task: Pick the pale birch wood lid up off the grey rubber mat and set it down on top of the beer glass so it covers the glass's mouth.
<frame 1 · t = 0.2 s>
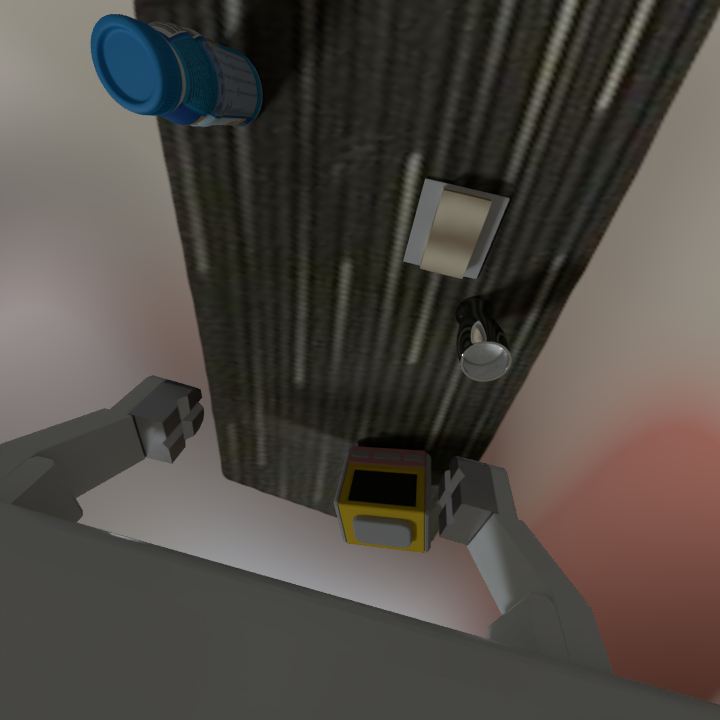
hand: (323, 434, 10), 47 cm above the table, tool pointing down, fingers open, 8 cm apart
birch lid: (452, 232, 50), point 1 cm above the table, touching grey mat
beverage bottle: (236, 89, 45), on the table
beer glass: (473, 312, 57), on the table
grey mat: (452, 231, 50), on the table
alarm clock: (390, 462, 83), on the table
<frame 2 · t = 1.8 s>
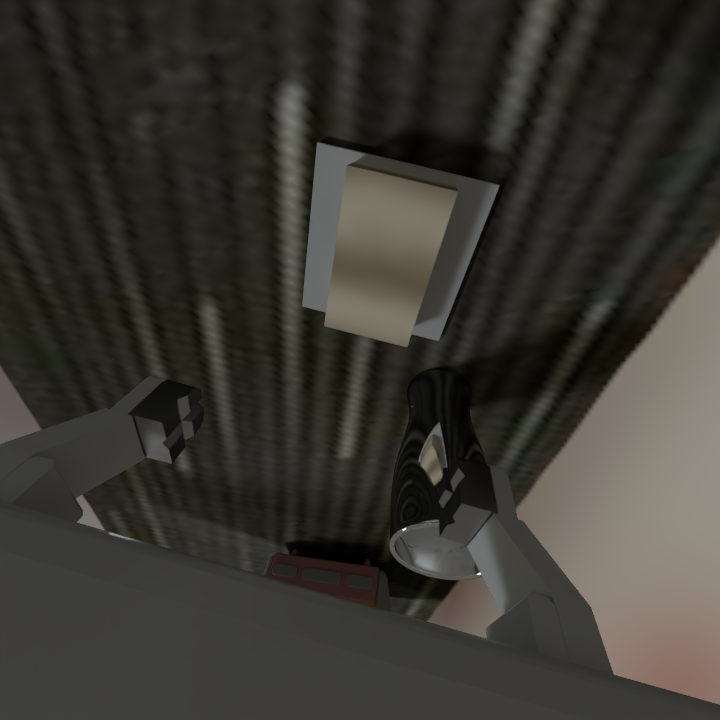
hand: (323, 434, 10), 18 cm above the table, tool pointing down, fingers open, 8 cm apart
birch lid: (386, 255, 25), point 1 cm above the table, touching grey mat
beer glass: (438, 392, 32), on the table
grey mat: (386, 252, 25), on the table
alarm clock: (335, 568, 58), on the table
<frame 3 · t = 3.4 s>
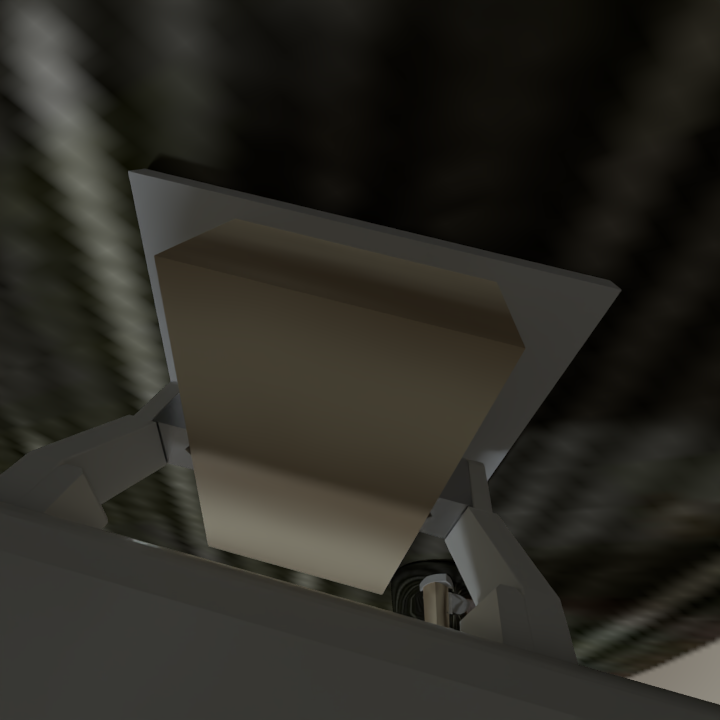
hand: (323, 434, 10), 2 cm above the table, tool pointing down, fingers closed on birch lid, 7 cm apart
birch lid: (333, 408, 11), point 1 cm above the table, touching grey mat, gripper
beer glass: (445, 584, 19), on the table
grey mat: (337, 396, 12), on the table
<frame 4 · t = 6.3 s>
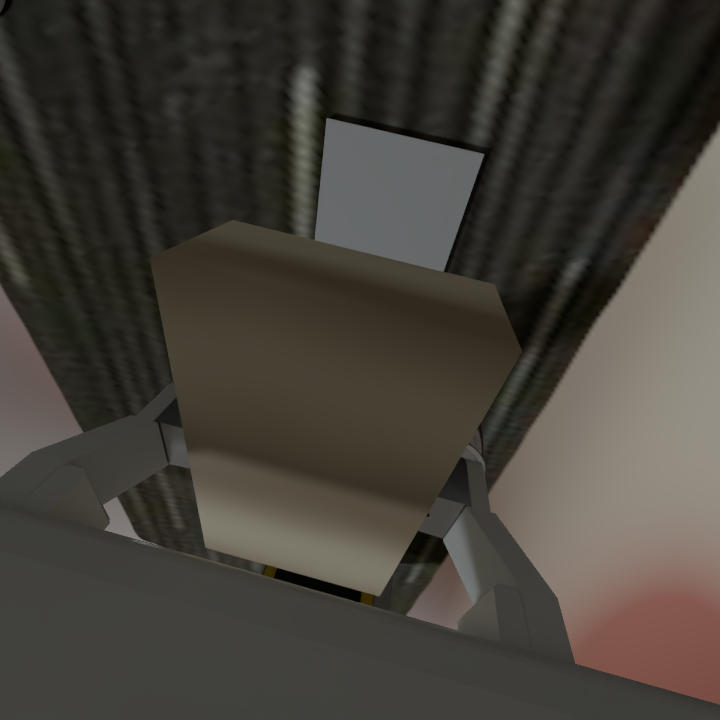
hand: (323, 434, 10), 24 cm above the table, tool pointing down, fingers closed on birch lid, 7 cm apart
birch lid: (331, 409, 11), point 22 cm above the table, touching gripper
beer glass: (434, 351, 36), on the table
grey mat: (387, 218, 29), on the table
alarm clock: (339, 535, 62), on the table
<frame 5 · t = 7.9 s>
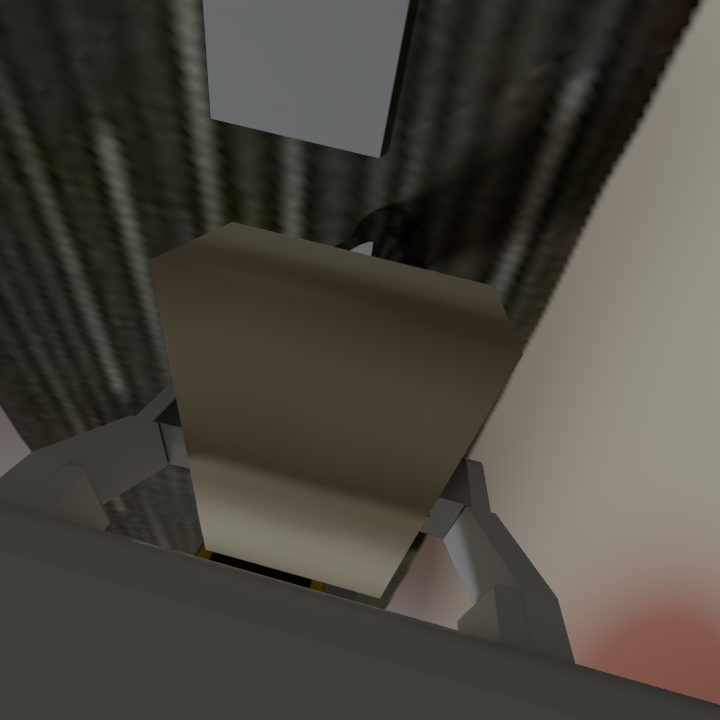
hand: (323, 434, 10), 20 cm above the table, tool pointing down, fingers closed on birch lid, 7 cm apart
birch lid: (331, 411, 11), point 19 cm above the table, touching gripper
beer glass: (388, 248, 27), on the table
grey mat: (304, 18, 20), on the table
alarm clock: (299, 516, 53), on the table
when the fingers open (17 cm above the table, at t = 8.9 s): birch lid drops 1 cm, resting on beer glass.
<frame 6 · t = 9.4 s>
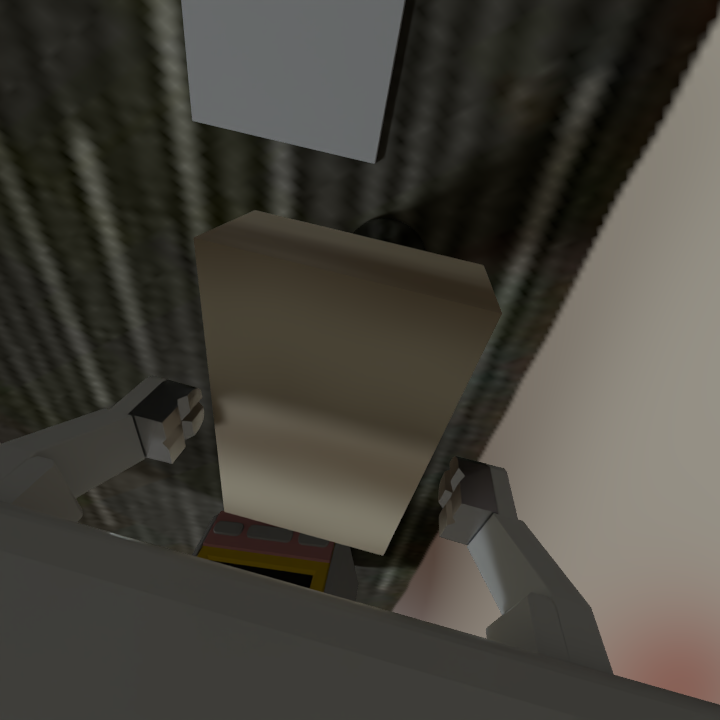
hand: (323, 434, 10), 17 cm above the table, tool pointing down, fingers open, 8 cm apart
birch lid: (339, 384, 13), point 15 cm above the table, touching beer glass
beer glass: (385, 260, 25), on the table, touching birch lid
grey mat: (291, 11, 18), on the table
alarm clock: (294, 532, 51), on the table
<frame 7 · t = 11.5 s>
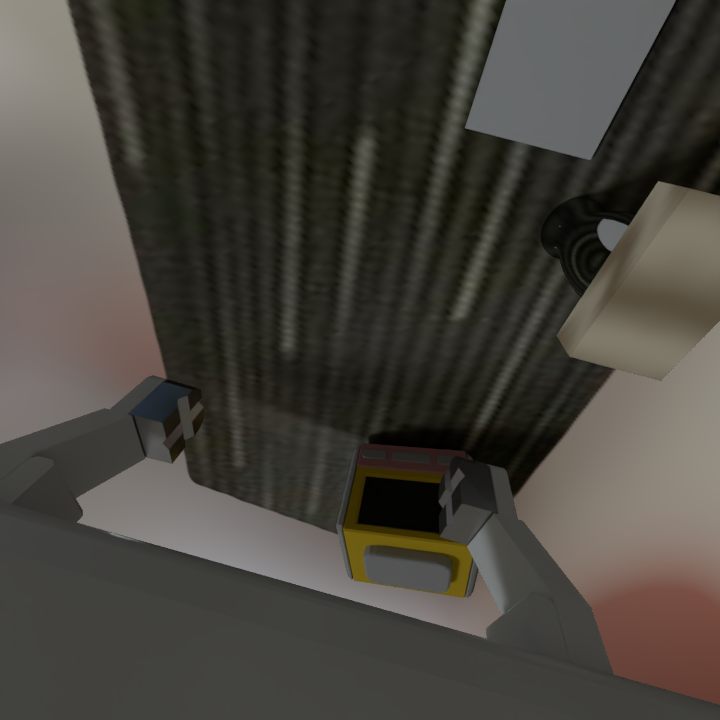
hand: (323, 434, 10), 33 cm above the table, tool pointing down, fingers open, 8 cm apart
birch lid: (647, 281, 23), point 15 cm above the table, touching beer glass
beer glass: (571, 228, 35), on the table, touching birch lid
grey mat: (561, 60, 28), on the table
alarm clock: (412, 466, 61), on the table
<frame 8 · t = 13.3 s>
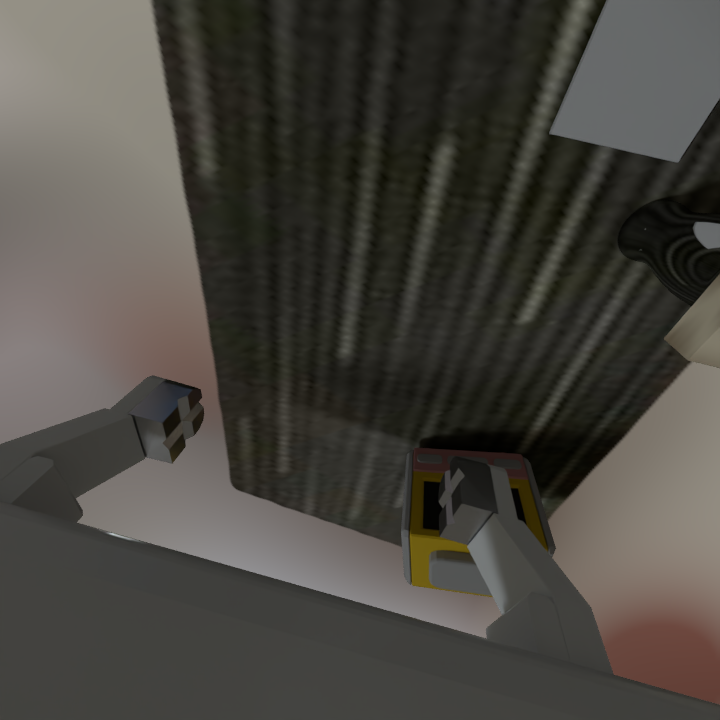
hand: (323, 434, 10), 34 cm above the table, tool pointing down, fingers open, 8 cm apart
beer glass: (650, 230, 35), on the table, touching birch lid
grey mat: (655, 65, 28), on the table
alarm clock: (462, 469, 61), on the table
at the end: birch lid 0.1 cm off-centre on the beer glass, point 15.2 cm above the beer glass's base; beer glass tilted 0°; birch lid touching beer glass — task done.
